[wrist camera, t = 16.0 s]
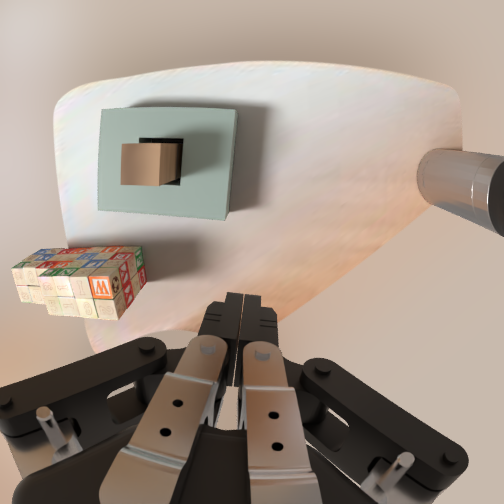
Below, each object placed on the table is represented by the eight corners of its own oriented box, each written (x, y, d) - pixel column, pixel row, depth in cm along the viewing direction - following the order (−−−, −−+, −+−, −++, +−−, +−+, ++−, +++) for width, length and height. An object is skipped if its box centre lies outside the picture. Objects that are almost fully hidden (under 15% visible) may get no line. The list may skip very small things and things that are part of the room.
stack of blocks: (48, 280, 48) (10, 310, 36) (41, 248, 46) (-1, 274, 34) (147, 282, 47) (118, 322, 36) (142, 245, 45) (108, 277, 34)
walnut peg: (187, 143, 40) (161, 142, 29) (185, 175, 42) (159, 186, 30) (156, 143, 40) (121, 143, 29) (154, 174, 42) (120, 185, 30)
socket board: (238, 114, 39) (235, 109, 34) (228, 212, 43) (225, 220, 39) (117, 112, 39) (101, 109, 34) (112, 203, 43) (97, 210, 38)
